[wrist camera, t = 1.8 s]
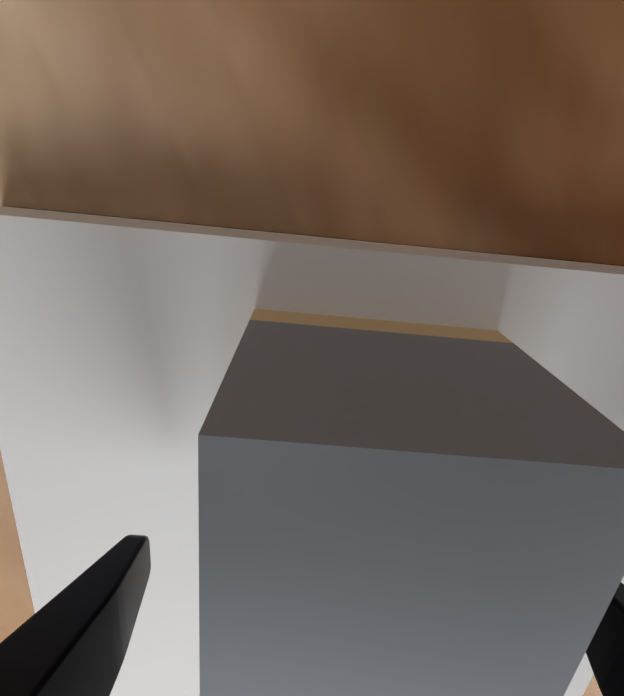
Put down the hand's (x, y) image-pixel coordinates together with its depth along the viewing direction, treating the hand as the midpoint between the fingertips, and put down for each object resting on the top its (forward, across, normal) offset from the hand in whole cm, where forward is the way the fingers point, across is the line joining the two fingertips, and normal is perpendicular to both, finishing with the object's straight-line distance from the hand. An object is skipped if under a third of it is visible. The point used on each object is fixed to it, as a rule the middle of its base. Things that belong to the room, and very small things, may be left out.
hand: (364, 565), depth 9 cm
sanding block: (+2, 0, 0) cm, 3 cm away
